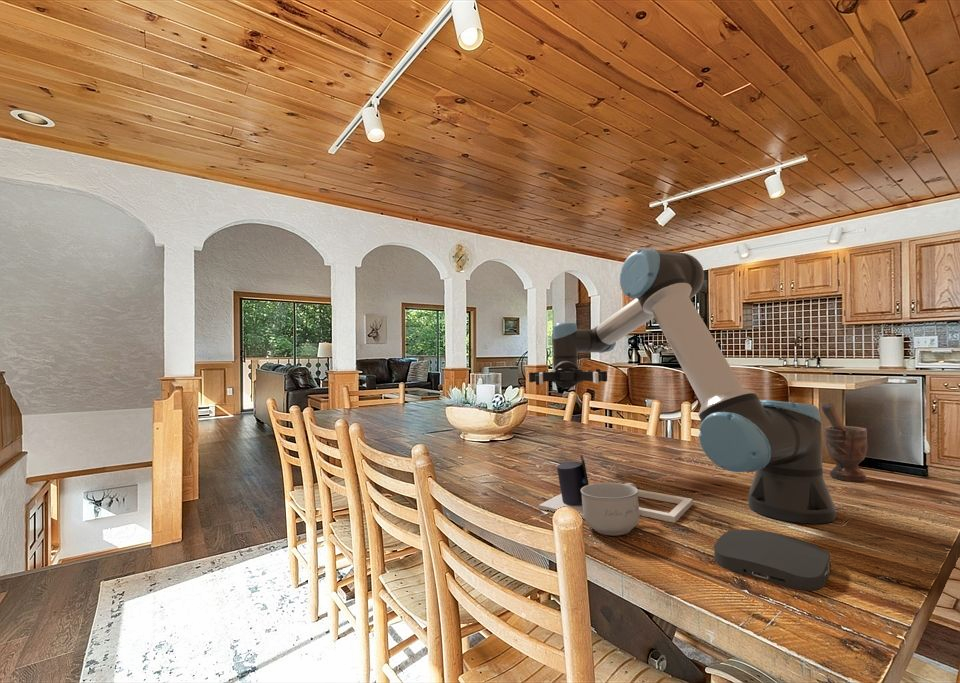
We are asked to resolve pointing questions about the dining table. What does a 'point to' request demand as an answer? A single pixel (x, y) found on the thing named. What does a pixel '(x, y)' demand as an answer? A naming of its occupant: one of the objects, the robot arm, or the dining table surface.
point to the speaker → (572, 481)
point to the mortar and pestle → (845, 446)
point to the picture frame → (677, 511)
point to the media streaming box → (774, 558)
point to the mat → (559, 505)
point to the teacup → (611, 507)
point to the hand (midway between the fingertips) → (568, 378)
